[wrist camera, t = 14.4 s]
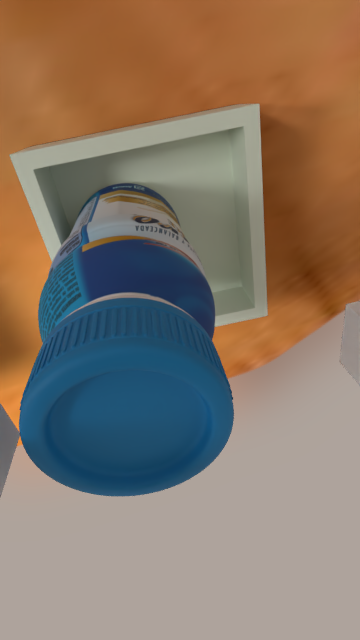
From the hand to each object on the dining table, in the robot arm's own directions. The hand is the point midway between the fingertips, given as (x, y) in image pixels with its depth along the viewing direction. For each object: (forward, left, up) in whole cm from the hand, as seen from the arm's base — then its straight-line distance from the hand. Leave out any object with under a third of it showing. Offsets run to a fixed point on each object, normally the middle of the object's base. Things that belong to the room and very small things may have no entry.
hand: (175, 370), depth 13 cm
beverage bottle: (-2, 0, -18) cm, 18 cm away
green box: (0, 0, -18) cm, 18 cm away
